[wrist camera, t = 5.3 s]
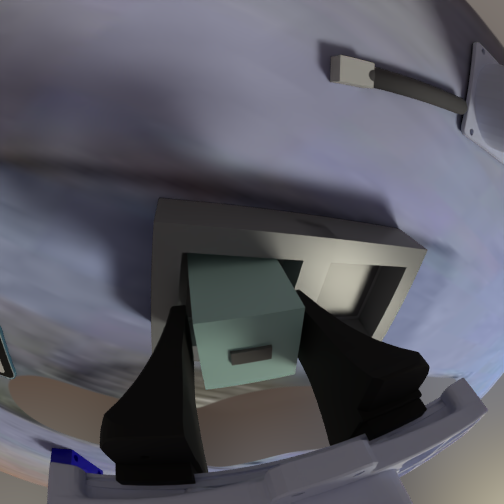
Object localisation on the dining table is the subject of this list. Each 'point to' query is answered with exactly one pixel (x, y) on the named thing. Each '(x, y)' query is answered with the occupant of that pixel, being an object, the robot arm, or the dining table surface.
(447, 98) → the cable piece
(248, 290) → the block
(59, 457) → the cable holder
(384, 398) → the robot arm
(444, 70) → the dining table surface
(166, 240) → the grey piece
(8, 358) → the smartphone
